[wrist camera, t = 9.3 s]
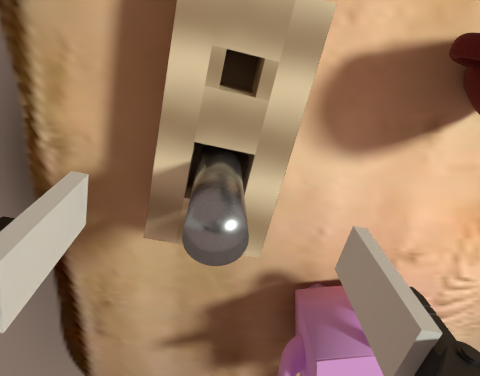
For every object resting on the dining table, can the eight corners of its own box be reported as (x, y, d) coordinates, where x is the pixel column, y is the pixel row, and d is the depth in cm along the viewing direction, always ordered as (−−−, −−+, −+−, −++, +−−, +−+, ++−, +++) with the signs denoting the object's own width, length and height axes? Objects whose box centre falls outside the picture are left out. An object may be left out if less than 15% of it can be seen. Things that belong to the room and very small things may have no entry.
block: (190, -23, 23) (182, -40, 18) (315, 11, 24) (336, 4, 19) (155, 207, 30) (143, 237, 25) (254, 225, 31) (259, 257, 26)
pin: (204, 134, 26) (188, 203, 15) (243, 143, 27) (256, 216, 16) (196, 171, 27) (177, 259, 16) (234, 179, 28) (240, 270, 17)
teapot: (324, 376, 39) (359, 489, 29) (245, 317, 35) (253, 425, 25) (435, 301, 36) (518, 402, 26) (360, 225, 31) (424, 310, 21)
